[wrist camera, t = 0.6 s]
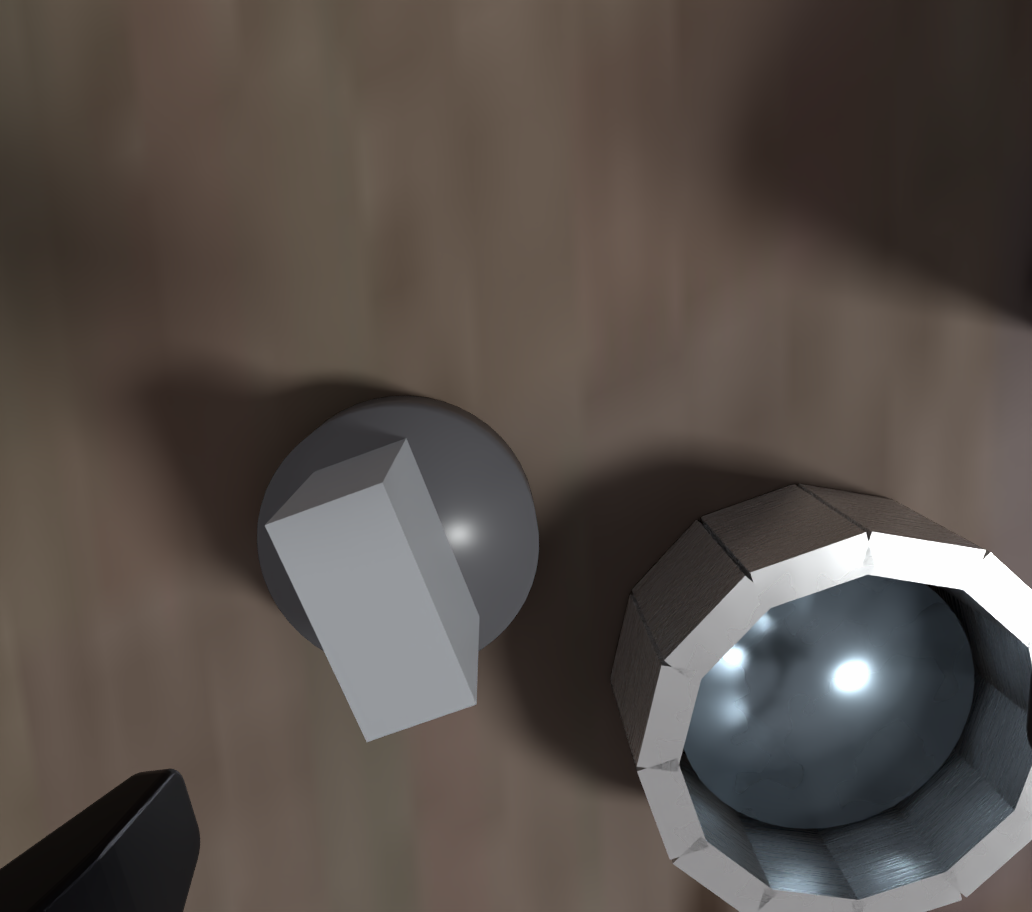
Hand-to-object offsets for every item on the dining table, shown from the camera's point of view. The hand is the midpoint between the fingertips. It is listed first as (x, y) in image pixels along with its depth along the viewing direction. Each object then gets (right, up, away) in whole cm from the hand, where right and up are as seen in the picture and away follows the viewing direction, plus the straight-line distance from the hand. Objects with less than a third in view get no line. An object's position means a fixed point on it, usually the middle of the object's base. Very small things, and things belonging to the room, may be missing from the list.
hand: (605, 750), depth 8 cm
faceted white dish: (+7, -3, +14) cm, 16 cm away
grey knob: (-4, +1, +13) cm, 13 cm away
